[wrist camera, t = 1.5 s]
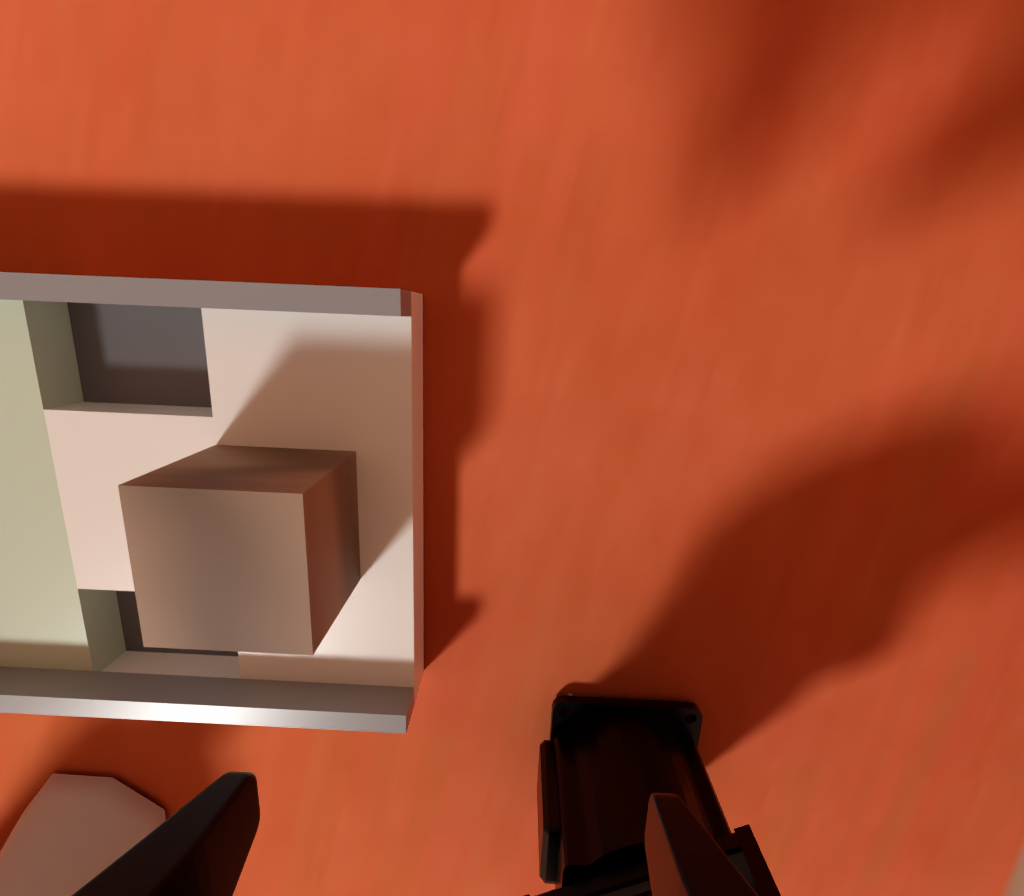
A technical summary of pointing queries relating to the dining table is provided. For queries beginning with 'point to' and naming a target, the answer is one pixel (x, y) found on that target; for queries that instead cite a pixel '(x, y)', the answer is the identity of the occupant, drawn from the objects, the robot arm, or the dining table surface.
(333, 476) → the walnut block
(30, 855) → the flask
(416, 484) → the box
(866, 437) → the dining table surface
